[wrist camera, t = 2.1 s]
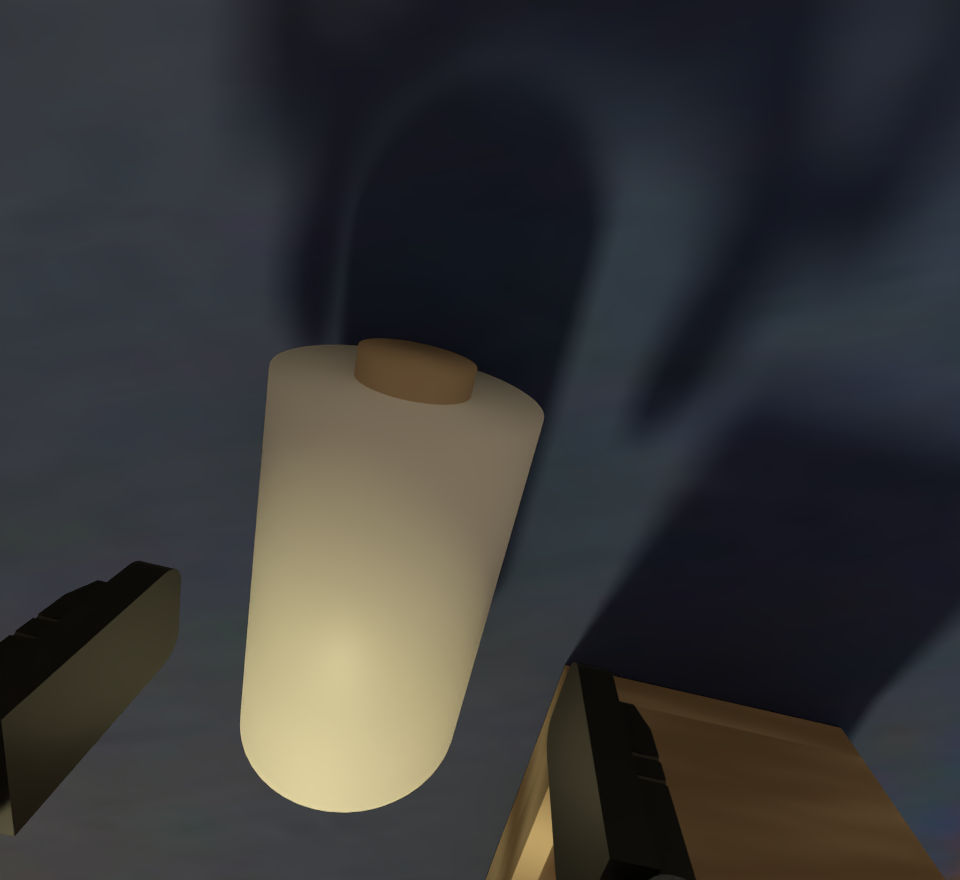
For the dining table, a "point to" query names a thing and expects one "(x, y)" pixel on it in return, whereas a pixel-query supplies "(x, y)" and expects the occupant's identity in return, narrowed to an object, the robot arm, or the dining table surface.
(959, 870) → the dining table surface
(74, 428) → the dining table surface
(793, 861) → the holder
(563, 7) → the dining table surface
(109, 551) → the dining table surface
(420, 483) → the cylinder
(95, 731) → the robot arm
